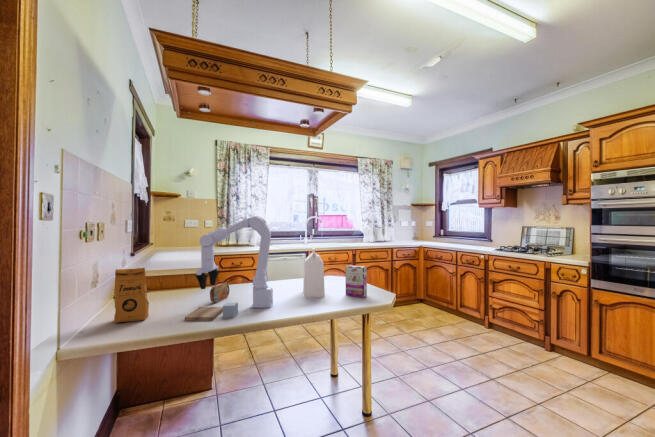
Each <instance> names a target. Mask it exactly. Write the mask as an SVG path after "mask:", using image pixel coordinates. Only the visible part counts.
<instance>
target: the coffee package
mask: <svg viewBox="0 0 655 437" xmlns="http://www.w3.org/2000/svg"><path fill="white" fill-rule="evenodd" d="M114 271H115V273H114V274H115V276H114V288H113V292H114V309H115V313H114V317H113V322H114V323H126V322H127V323H128V322H137V321H139V322H140V321H145V320H146V319H147V318H148V317H149V316H150V315H149V312H150V311H149V309H150V308H149V302H150V301H149V300H148V294H147V293H148V291H147V288H148V286H147V278H146V277H147V276H146V273H147V272H146V268H145V267H139V268H137V267H136V268H120V269H119V268H118V269H115V270H114Z"/></svg>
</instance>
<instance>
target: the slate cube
mask: <svg viewBox="0 0 655 437" xmlns="http://www.w3.org/2000/svg"><path fill="white" fill-rule="evenodd" d="M222 307H223V312H222V318H234V317H235V318H236V317H237V315H238V314H239V303H238V302H225V303H224V304H223V305H222Z"/></svg>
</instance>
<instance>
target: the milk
mask: <svg viewBox="0 0 655 437" xmlns="http://www.w3.org/2000/svg"><path fill="white" fill-rule="evenodd" d="M324 267H325V265H324V261H323V259H322V256H321V255H320V254H319V253H316V249H315V247H311V253H310V254H309V255H308V256H307V257H306V258H305V259H304V262H303V284H302V285H303V287H302V288H303V289H302V291H303V292H302V293H303V294H304V295H303V298H317V297H318V298H319V297H320V298H323V297H322V296H326V295H325V290H326V289H325V271H324V270H325V268H324Z"/></svg>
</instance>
